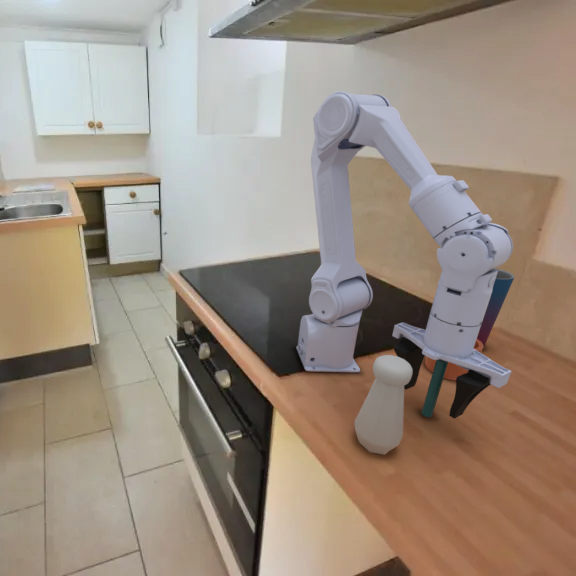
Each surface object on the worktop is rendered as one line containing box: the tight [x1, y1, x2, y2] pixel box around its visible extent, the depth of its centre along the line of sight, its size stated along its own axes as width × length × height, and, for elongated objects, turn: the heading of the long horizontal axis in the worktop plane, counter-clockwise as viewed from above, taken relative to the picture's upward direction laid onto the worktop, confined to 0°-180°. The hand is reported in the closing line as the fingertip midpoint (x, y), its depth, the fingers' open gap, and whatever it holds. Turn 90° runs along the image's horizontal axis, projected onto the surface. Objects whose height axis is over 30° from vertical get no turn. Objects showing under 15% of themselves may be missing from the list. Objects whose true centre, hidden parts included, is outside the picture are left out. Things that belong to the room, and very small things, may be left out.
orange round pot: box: [424, 339, 484, 382], centre depth 66 cm, size 7×7×6 cm
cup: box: [477, 268, 515, 349], centre depth 72 cm, size 7×7×15 cm
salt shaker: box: [353, 354, 413, 456], centre depth 49 cm, size 6×6×13 cm
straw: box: [420, 359, 448, 418], centre depth 54 cm, size 1×1×10 cm
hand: (430, 400), depth 55 cm, fingers open, 6 cm apart
